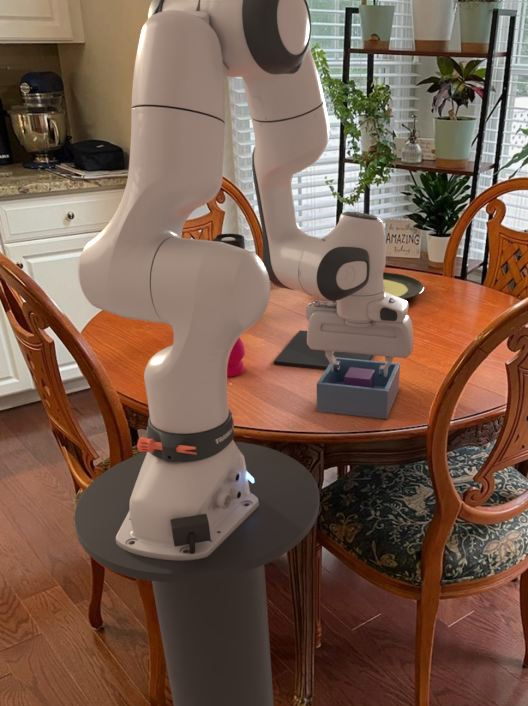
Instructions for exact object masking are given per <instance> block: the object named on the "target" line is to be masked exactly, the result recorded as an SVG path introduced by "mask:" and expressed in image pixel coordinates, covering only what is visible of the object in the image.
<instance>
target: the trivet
mask: <svg viewBox="0 0 528 706" xmlns="http://www.w3.org/2000/svg"><path fill="white" fill-rule="evenodd" d="M307 331H308V330H298V332H297V333H296V334H295V335H294V336H293V338H291V340H290V341H289V342H288V344H287V345H286V346H285V347H284V348H283V349H282V351H281V352H280V353H279V354H278V355H277V357H275V359H274V360H273V365H275V366H276V365H277V366H286V367H295V368H296V367H297V368H305V369H316V370H324V371H325V370H326V369H327V367H328V366H329V364H330V362H329V360H328V359H327V357H326V356H325V350H315V349H311V348H310V347H309V346H308V345H307ZM333 355H334V357H340V358H349V359H359V360H369V361H372V358H373V356H374V355H367V354H357V353H346V352H336V351H335V352H334V353H333Z"/></svg>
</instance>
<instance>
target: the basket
mask: <svg viewBox="0 0 528 706" xmlns="http://www.w3.org/2000/svg"><path fill="white" fill-rule="evenodd" d="M335 359H336V361H340V371H339V372H331V364H329V366H328V367H327V369H326V370H324V372H323V373H322V375H321V376H320V378H319V379H318V380H317V382H316V411H317V412H321V413H329V414H338V415H345V416H346V415H347V416H355V417H363V418H371V419H372V418H373V419H379V420H380V419H382V420H387V419H388V417H389V415H390V412H391V409H392V407H393V404H394V403H395V399H396V398H397V396H398V393H399V391H400V373H401V363H400V362H399V363H397V362H392V363H391V364H390V366H389V367H388V374H387V377H380V376H379V368H380V366H381V365H385V364H386V363H387V361H379V360H370V361H369V360H359V359H349V358H340V357H335ZM350 367H353V368H363V369H373V370H375V377H374V388H369V387H360V386H350V385H344V377H345V375H346V373H347V372H348V370H349V368H350Z"/></svg>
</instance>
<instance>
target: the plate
mask: <svg viewBox="0 0 528 706" xmlns="http://www.w3.org/2000/svg"><path fill="white" fill-rule="evenodd" d="M383 281H384V285H385V292H387V293H389V294H391V295H394V296H396V297H398V298H401V299H404V300H406V301H407V300H409V299H413V298H415V297H418V296H419V295H421V294H422V293H423V292H424V290H425V285H424V284H423V283H422V282H421V281H420V280H419V279H416V278H414V277H412V276H408V275H405V274H401V273H394V272H385V271H384V272H383Z"/></svg>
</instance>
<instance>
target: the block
mask: <svg viewBox="0 0 528 706" xmlns="http://www.w3.org/2000/svg"><path fill="white" fill-rule="evenodd" d="M374 377H375V370H373V369H363V368H353V367H350V368H349V370H348V372H347V373H346V375H345V377H344V385H350V386H360V387H369V388H374Z"/></svg>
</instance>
